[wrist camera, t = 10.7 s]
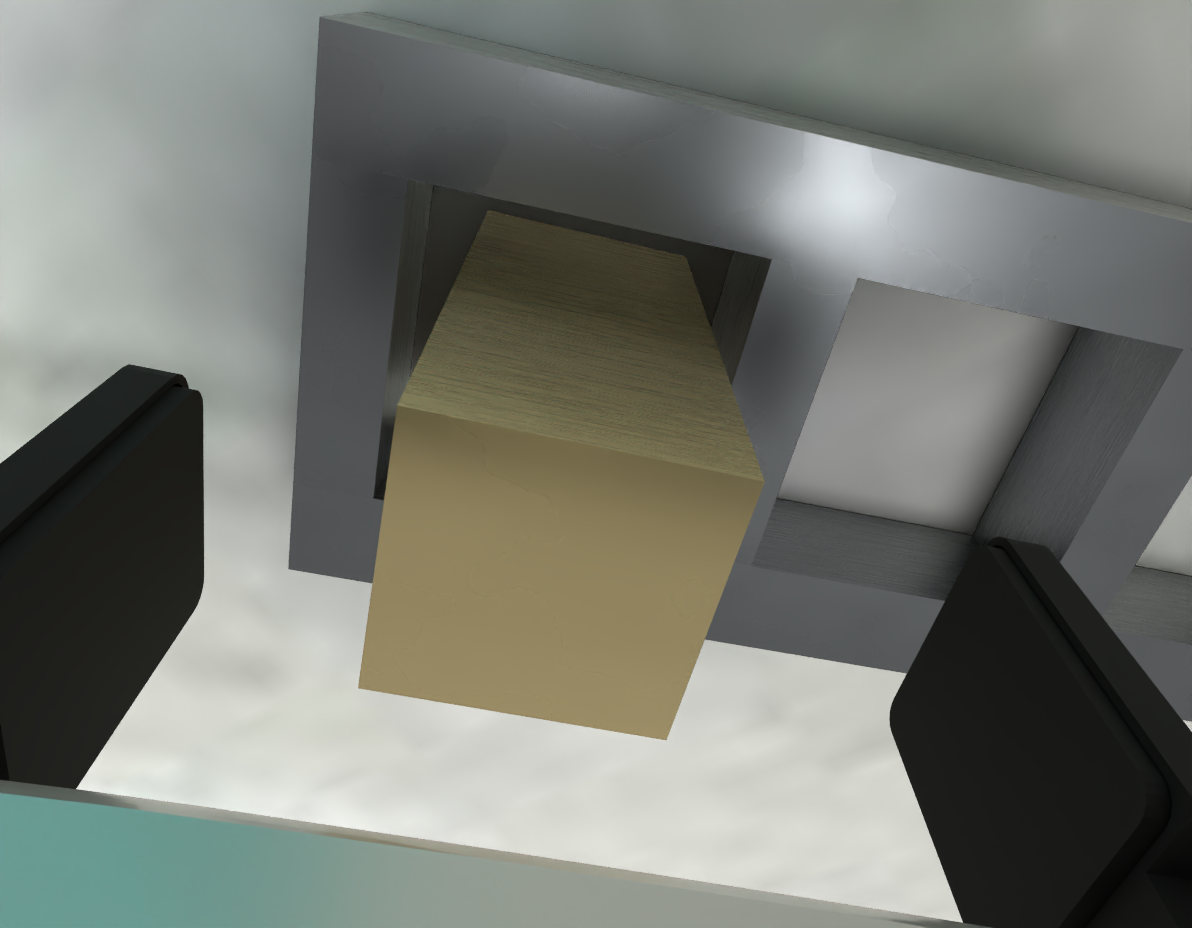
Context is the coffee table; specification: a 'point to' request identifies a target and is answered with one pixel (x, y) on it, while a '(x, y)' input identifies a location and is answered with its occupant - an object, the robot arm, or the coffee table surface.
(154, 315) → the coffee table surface
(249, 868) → the robot arm
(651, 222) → the grey flat slotted block
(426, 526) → the brass peg
